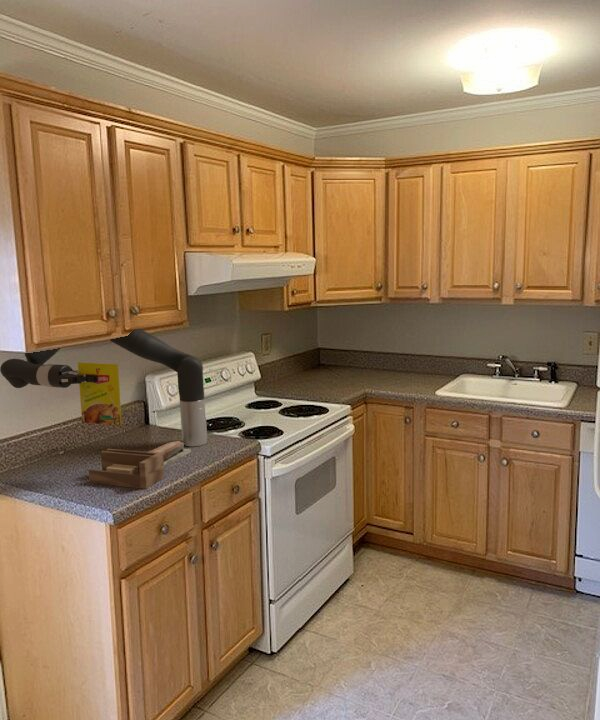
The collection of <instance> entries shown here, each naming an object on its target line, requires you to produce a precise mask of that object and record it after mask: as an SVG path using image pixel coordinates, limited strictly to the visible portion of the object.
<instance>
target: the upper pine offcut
mask: <svg viewBox="0 0 600 720" xmlns="http://www.w3.org/2000/svg"><path fill="white" fill-rule="evenodd" d="M106 471H113V472H123V473H132V474H138V466H131V465H121V464H113V465H111V466H109V467H107V468H106Z"/></svg>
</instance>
